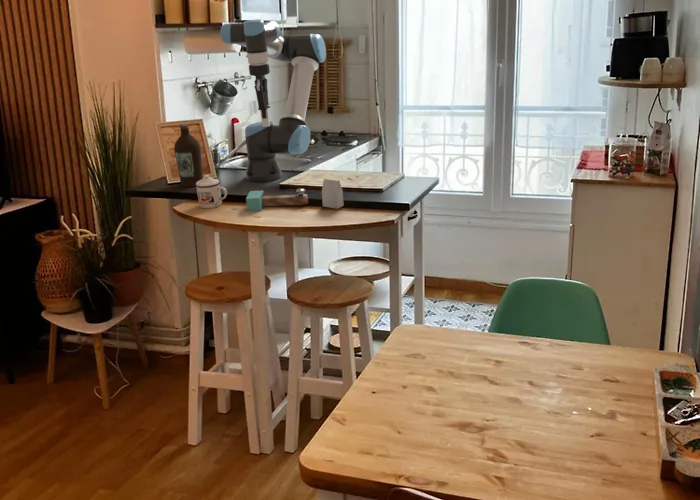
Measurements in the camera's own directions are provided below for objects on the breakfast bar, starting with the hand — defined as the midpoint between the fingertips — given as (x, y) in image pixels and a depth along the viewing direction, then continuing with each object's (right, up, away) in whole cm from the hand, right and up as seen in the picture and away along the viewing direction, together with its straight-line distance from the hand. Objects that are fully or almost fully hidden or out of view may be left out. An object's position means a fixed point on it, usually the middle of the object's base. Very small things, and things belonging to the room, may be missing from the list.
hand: (266, 126), depth 287 cm
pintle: (+14, -27, -8) cm, 31 cm away
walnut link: (+6, -30, -7) cm, 32 cm away
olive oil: (-34, -20, +29) cm, 49 cm away
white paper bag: (+26, -31, -11) cm, 42 cm away
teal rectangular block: (-3, -32, -8) cm, 33 cm away
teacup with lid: (-20, -31, -1) cm, 36 cm away
